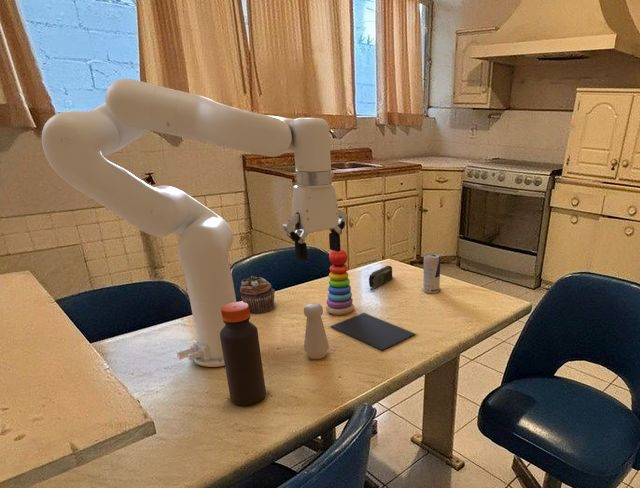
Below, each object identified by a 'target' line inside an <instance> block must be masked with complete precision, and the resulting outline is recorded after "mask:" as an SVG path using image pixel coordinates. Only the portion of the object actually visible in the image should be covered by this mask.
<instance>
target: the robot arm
mask: <svg viewBox="0 0 640 488" xmlns="http://www.w3.org/2000/svg"><path fill="white" fill-rule="evenodd" d="M104 99H105V102H103V103H101V104H100V105H98V106H96V107H95V108H92V109H91V110H89V111H88V110H87V111H83V110H82V111H81V110H71V111H63V112H59V113H56V114H54V115H52V116H51V117H50V118H49V119H47V121H46V122H45V123H44V125H43V128H42V131H41V144H42V145H41V146H42V149H43V155H44V156H45V158H46V161H47V162H48V164H49V166H50V167H51V169H52V170H53V171H54V172H55V173H56V174H57V176H58V177H60V178H61V179H62V180H63V181H64V182H66V184H68V185H70V186H71V187H72V188H74V189H75V190H77V191H78V192H80V193H82V194H83V195H85V196H86V197H88V198H89V199H92V200H93V201H95V202H96V203H98V204H100V205H101V206H102V207H104V208H106V209H107V210H108V211H110V212H111V213H113V214H115V215H117V216H118V217H119V218H120V219H123V220H124V221H126V222H128V223H129V224H130V225H132V226H134V227H135V228H137V229H138V230H140V231H142V232H143V233H145V234H147V235H149V236H151V237H156V238H162V237H167V236H168V235H170V234H174V235H176V236H178V237H179V238H178V241H177V244H176V253H177V258H178V261H179V265H180V267H181V270H182V274H183V277H184V281H185V285H186V290H187V294H188V298H189V303H190V304H189V305H190V308H191V314H192V318H193V324H194V330H195V333H196V339H193V340H192V342H193V344H192V345H190V346H189V347H188V348H186V349H185V348H184V349H180V350H177V351H176V357H177V359H178V360H180V361H181V360H184V359H186V358H187V359H188V361H192V360H193V361H194V363H195V364H196V365H199V366H201V367H208V368H218V367H225V363H224V357H223V352H222V346H221V340H220V331H221V330H222V329H223V328H224V326H225V323H224V322H223V319H222V313H221V308H222V306H224V305H226V304H229V303H233V302H237V297H236V292H235V285H234V280H233V275H232V270H231V267H230V266H231V265H230V262H229V256H228V255H229V253H228V252H229V251H230V249H231V247H232V244H233V241H234V232H233V229H232V227H231V226H230V225H229V223H228V222H227V221H226V220H225V219H224V218H223V217H221V216H220V215H219V214H217V213H216V212H214V211H213V210H212V209H210V208H208V207H207V206H205V205H204V204H203V203H201V202H199V201H198V200H196V199H195V198H194V197H192V196H191V195H189V194H188V193H187V192H185V191H183V190H181V189H179V188H176V187H174V186H171V185H157V186H152V185H150V184H148V183H146V182H145V181H144V180H142V179H140V178H138V177H137V176H135V174H133V173H132V172H130V171H128V170H127V169H125V168H124V167H122V166H120V165H118V164H116V163H114V162H112V161H110V160H109V159H107V158H106V157H105V156H108V155H112V154H114V153H116V152H118V151H120V150H122V149H123V148H125V147H126V146H128V145H130V144H131V143H133V142H134V141H136V140H138V139H139V138H141V137H142V136H144V135H146V134H147V133H149V132H155V133H161V134H166V135H171V136H176V137H179V138H183V139H188V140H192V141H197V142H200V143H203V144H209V145H215V146H219V147H223V148H227V149H231V150H236V151H240V152H244V153H250V154H254V155H258V156H262V157H263V156H264V157H270V158H276V157H280V156H282V155H284V154H285V153H290V152H293V155H294V167H295V179H296V185H293V187H292V195H291V217H290V218H288V219H287V221H285V222H284V223H283V224H282V228H283V230H284V231H285V233H286V236H287V237H288V238H289V239H290V240H291V241H292V242H294V250H295V257H296V259H298V260H301V261H307V260H308V247H307V242H305V240H306V238H307V237H308V235H309V234H313V233H319V232H323V231H327V230H329V234H328V242H329V243H328V244H329V250H331V251H332V250H334V251H337V252H339V251H341V249H342V248H341V235H342V234H343V229H344V228H345V227H346V222H347V218H348V213H346V212H344V211H342V210H341V209H339V205H338V198H337V193H336V187H335V185H334V184H333V178H334V177H335V173H334V171H332V159H331V142H330V141H331V140H330V138H331V137H330V126H329V123H328V121H327V120H326V119H325V118H320V117H298V118H288V117H282V116H275V115H267V114H262V113H258V112H254V111H250V110H247V109H246V110H245V109H241V108H238V107H237V108H236V107H234V106H230V105H226V104H223V103H219V102H217V101H215V100H213V99H211V98H208V97H206V96H202V95H200V94H196V93H192V92H188V91H187V92H186V91H182V90H178V89H173V88H169V87H165V86H160V85H156V84H153V83H149V82H145V81H141V80H136V79H132V78H120V79H116V80H115V81H113V82H111V84H109V85H108V87H107V89H106V91H105V96H104Z"/></svg>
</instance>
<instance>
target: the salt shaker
mask: <svg viewBox="0 0 640 488" xmlns="http://www.w3.org/2000/svg"><path fill="white" fill-rule="evenodd" d="M303 313H304V314H303V315H304V317H306V321H305V332H304V342H303V349H304V352H305V353H306V354H307V356H308V357H309V359H310V360H320V359H323V358H325V357H326V355H327V352H328V350H329V348H330V345H329V341H328V337H327V334H326V330H325V326H324V323H323V319H322V318H323V317H322V316H323V314H324V308H323V305H322V304H320V303H316V302H315V303H308V304H306V305H305V306H304V307H303Z"/></svg>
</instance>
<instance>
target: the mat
mask: <svg viewBox="0 0 640 488" xmlns="http://www.w3.org/2000/svg"><path fill="white" fill-rule="evenodd" d="M330 328H332V329H334V330H336V331H338V332H340V333H343V334H345V335H347V336H349V337H351V338H353V339H355V340H357V341H360V342H361V343H364V344H366V345H368V346H371V347H373V348H374V349H377V350H379V351H381V352H383V351H385V350H388V349H390V348H392V347H393V346H396V345H398V344H400V343H403V342H404V341H406V340H408V339H410V338H412V337H414V336H416V333H414V332H412V331H409V330H407V329H405V328H403V327H399V326H397V325H394V324H393V323H390V322H387V321H385V320H382V319H380V318H377V317H375V316H372V315H370V314H367V313H365V312H363V313H360V314H357V315H355V316H353V317H350V318H348V319H345V320H343V321H340V322H338V323H335V324H332V325H330Z"/></svg>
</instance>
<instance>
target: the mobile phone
mask: <svg viewBox="0 0 640 488" xmlns="http://www.w3.org/2000/svg"><path fill="white" fill-rule="evenodd" d="M392 279H393V266H391V265H385V266H384V267H381V268H379V269H377V270H375V271H372V272H371V273H370V275H369V277H368V286H369V287H370V291H373V290H375V289H376V288H378V287H379V286H382V285H383V284H386V283H387V282H388V281H390V280H392Z"/></svg>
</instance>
